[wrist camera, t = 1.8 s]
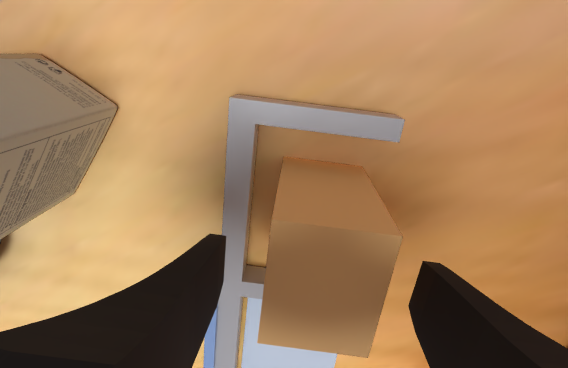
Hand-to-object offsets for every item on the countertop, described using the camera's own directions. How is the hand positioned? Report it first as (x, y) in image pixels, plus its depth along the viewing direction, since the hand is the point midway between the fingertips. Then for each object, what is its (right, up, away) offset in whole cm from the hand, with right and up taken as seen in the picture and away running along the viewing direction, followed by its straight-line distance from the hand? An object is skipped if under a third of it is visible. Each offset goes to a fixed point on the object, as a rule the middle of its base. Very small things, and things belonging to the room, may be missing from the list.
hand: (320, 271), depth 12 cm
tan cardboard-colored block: (0, +2, +5) cm, 6 cm away
